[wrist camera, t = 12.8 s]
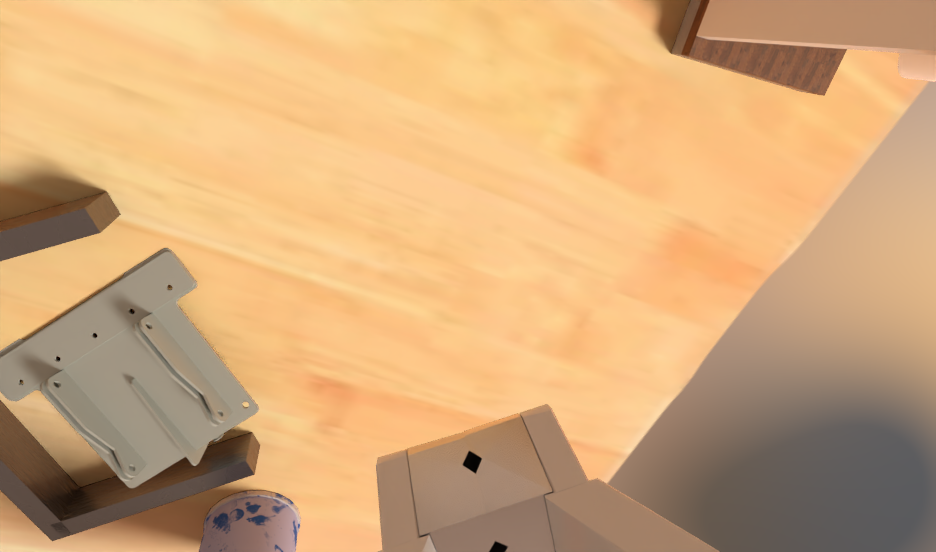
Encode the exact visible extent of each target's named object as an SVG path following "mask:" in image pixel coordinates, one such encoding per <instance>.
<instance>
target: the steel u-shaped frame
mask: <svg viewBox="0 0 936 552" xmlns="http://www.w3.org/2000/svg"><path fill="white" fill-rule="evenodd" d="M119 215H121V214H120V213H119V211H118V209H117V208H116V206H115V205H114V203H113V201H112V200H111V198H110V196H109V195H108V193H107V192H104V193H101V194H97V195H94V196H90V197H86V198H83V199H79V200H76V201H72V202H68V203H65V204H61V205H58V206H54V207H51V208H47V209H43V210H40V211H36V212H33V213H29V214H25V215H22V216H18V217H15V218H11V219H7V220H4V221H0V261H3V260H6V259H10V258H13V257H17V256H20V255H24V254H27V253H31V252H34V251H38V250H41V249H45V248H48V247H52V246H55V245H59V244H62V243H66V242H69V241H73V240H76V239H80V238H83V237H87V236H90V235H94V234H97V233H101V232H102V231H103V230H104V229H105V228H106V227H107V226H108V225H109V224H111V223H112V222H113V221H114V220H115V219H116V218H117V217H118V216H119ZM259 448H260V444H259V443H258V441H257V439H256V438H255V436H254V435H253V433H248V434H245V435H242V436H239V437H236V438H233V439H230V440H227V441H224V442H221V443H218V444H214V445H211V446H208V447H207V448H206V450H205V452H204V454H203V456H202V458H201V460H200V462H199V464H197V465H196V466H194V465H192V464H191V463H190V461H189V460H188V459H187V457H184V458H182V459H181V460H179V461H178V462H176V463H174V464H173V465H171V466H169V467H168V468H166V469H165V470H163V471H161V472H160V473H158V474H156V475H155V476H153V477H152V478H150V479H148V480H147V481H145V482H143V483H142V484H140V485H139V486H137V487H135V488H129V487H128V486H127V485H126V484H125V483H124V482H123V481H122V480H121V479H120V478H119V477H118V476H116V477H112V478H109V479H106V480H103V481H100V482H97V483H94V484H91V485H88V486H85V487H82V488H79V487H78V486H77V485H76V484H75V483H74V481H73V480H72V479H71V478H70V477H69V476H68V475H67V474H66V473H65V472H64V470H63V469H62V468H61V467H60V466H59V465H58V464H57V463H56V462H55V460H54V459H53V458H52V457H51V456H50V455H49V454H48V453H47V452H46V450H45V449H44V448H43V447H42V446H41V445H40V444H39V443H38V442H37V440H36V439H35V438H34V437H33V436H32V435H31V434H30V433H29V432H28V431H27V429H26V428H25V427H24V426H23V425H22V424H21V423H20V422H19V421H18V419H17V418H16V417H15V416H14V415H13V414H12V413H11V412H10V411H9V409H8V408H7V407H6V406H5V405H4V404H3V403H2V402H1V401H0V490H1V491H2V492H3V493H4V494H5V495H6V496H7V497H8V498H9V499H10V500H11V501H12V502H13V503H14V504H15V505H16V506H17V507H18V508H19V509H20V510H21V511H22V512H23V513H24V514H25V515H26V516H27V517H28V518H29V519H30V520H31V521H32V522H33V523H34V524H35V525H36V526H37V527H38V528H39V529H40V530H41V531H42V532H44V533H45V534H46V535H47V536H48V537H49V538H50V539H51V540H52V541H54V540H57V539H61V538H64V537H67V536H70V535H73V534H76V533H79V532H82V531H85V530H88V529H91V528H94V527H97V526H100V525H103V524H106V523H109V522H112V521H115V520H118V519H121V518H124V517H127V516H130V515H133V514H136V513H139V512H142V511H145V510H148V509H151V508H154V507H157V506H160V505H163V504H166V503H170V502H173V501H176V500H179V499H182V498H185V497H188V496H191V495H194V494H197V493H200V492H203V491H206V490H209V489H212V488H215V487H218V486H221V485H224V484H227V483H230V482H233V481H236V480H239V479H242V478H245V477H248V476H251V475H254V474H255V469H256V464H257V459H258V454H259Z"/></svg>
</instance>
